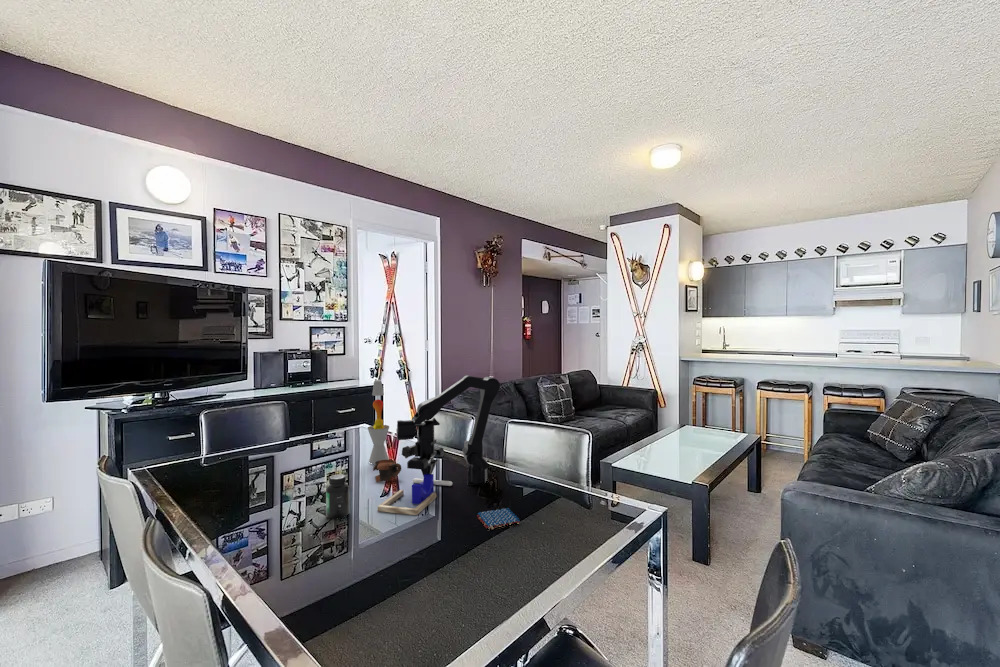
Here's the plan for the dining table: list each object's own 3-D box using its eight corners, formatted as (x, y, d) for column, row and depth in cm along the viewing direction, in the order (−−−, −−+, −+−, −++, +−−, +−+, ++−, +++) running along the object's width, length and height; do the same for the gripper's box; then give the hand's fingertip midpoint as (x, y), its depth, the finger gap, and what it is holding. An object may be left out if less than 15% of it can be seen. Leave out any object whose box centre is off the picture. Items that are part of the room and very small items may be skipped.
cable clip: (421, 490, 165) (421, 473, 165) (433, 491, 164) (433, 474, 164) (407, 503, 154) (407, 484, 154) (420, 504, 153) (420, 485, 153)
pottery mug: (367, 483, 175) (368, 461, 179) (381, 487, 183) (381, 466, 187) (396, 477, 172) (395, 455, 176) (408, 481, 180) (408, 460, 184)
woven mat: (475, 518, 142) (475, 511, 142) (508, 513, 146) (508, 506, 146) (486, 532, 132) (486, 525, 132) (521, 526, 136) (521, 519, 136)
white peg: (453, 485, 170) (453, 480, 170) (451, 486, 169) (451, 482, 169) (413, 481, 175) (413, 477, 174) (412, 483, 173) (411, 478, 173)
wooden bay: (436, 497, 158) (436, 493, 158) (416, 515, 144) (416, 510, 144) (400, 494, 162) (400, 489, 162) (377, 511, 147) (377, 506, 147)
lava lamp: (366, 460, 203) (365, 380, 203) (387, 457, 207) (386, 378, 206) (370, 466, 195) (368, 382, 194) (391, 463, 199) (390, 380, 198)
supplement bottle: (325, 520, 140) (324, 481, 140) (327, 512, 147) (326, 474, 147) (349, 518, 142) (348, 478, 142) (350, 509, 149) (349, 472, 148)
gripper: (417, 430, 178) (417, 471, 178) (392, 443, 160) (393, 488, 160) (444, 432, 175) (445, 474, 175) (422, 445, 157) (423, 491, 157)
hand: (426, 481), depth 167 cm, fingers closed
